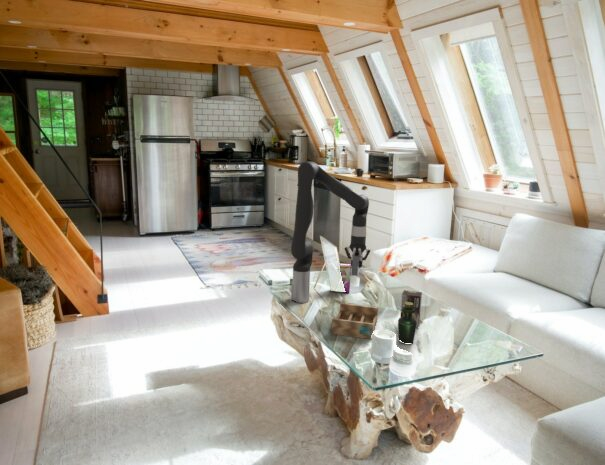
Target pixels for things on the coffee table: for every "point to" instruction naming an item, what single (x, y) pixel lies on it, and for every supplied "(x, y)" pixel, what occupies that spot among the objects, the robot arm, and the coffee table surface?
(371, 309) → the rack
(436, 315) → the coffee table surface
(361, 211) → the robot arm
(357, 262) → the panel
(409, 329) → the potion bottle
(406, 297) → the coffee box
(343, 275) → the candy bar box
